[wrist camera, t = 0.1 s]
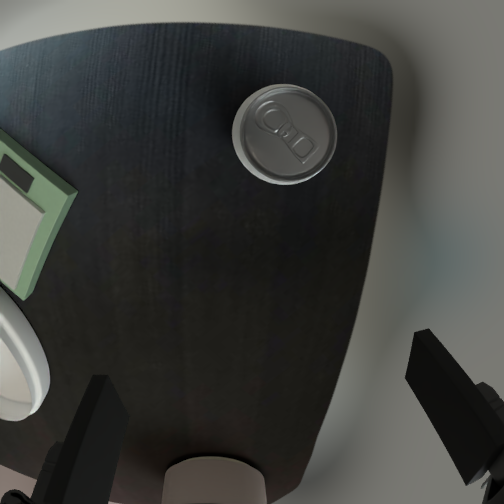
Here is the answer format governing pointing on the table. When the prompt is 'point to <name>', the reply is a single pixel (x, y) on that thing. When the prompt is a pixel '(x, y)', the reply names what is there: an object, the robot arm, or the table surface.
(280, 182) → the can
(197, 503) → the container
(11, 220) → the kitchen scale
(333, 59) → the table surface
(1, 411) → the white round shallow dish
